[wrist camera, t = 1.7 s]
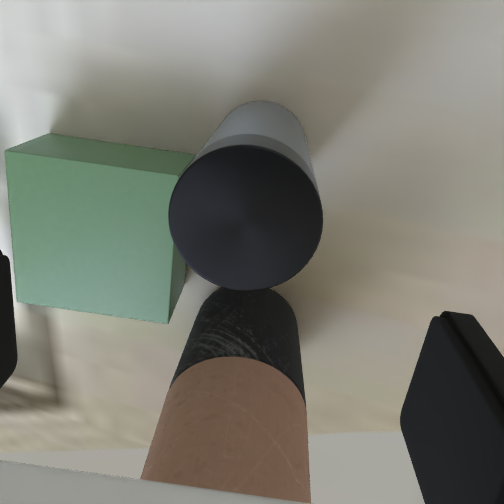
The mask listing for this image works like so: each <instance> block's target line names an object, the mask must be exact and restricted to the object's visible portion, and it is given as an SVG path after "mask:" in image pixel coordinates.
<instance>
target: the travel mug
mask: <svg viewBox="0 0 504 504" xmlns="http://www.w3.org/2000/svg"><path fill="white" fill-rule="evenodd" d="M140 479H141V480H149V481H156V482H163V483H170V484H177V485H184V486H191V487H198V488H205V489H213V490H220V491H227V492H234V493H241V494H248V495H255V496H262V497H269V498H276V499H282V500H289V501H296V502H303V503H310V504H311V496H310V474H309V453H308V432H307V412H306V401H305V392H304V382H303V373H302V363H301V354H300V344H299V335H298V327H297V322H296V318H295V315H294V312H293V311H292V309H291V307H290V306H289V304H288V303H287V302H286V301H285V299H284V298H283V297H281V296H280V295H279V294H278V293H276V292H274V291H273V290H271V289H269V288H267V289H262V290H256V291H239V290H233V289H228V288H221V289H219V290H218V291H216V292H214V293H213V294H212V295H211V296H209V298H208V299H207V300H206V301H205V302H204V303H203V305H202V307H201V308H200V310H199V312H198V315H197V317H196V320H195V322H194V325H193V327H192V330H191V332H190V335H189V338H188V340H187V343H186V346H185V348H184V351H183V353H182V356H181V359H180V361H179V364H178V367H177V369H176V372H175V374H174V377H173V380H172V382H171V385H170V388H169V391H168V393H167V396H166V399H165V402H164V405H163V409H162V412H161V415H160V418H159V421H158V424H157V428H156V431H155V434H154V437H153V440H152V443H151V446H150V450H149V453H148V456H147V459H146V462H145V465H144V469H143V472H142V475H141V478H140Z"/></svg>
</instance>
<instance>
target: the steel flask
mask: <svg viewBox="0 0 504 504" xmlns="http://www.w3.org/2000/svg"><path fill="white" fill-rule="evenodd" d="M168 222H169V229H170V234H171V237H172V240H173V242H174V245H175V247H176V249H177V251H178V252H179V254H180V255H181V257H182V258H183V260H184V261H185V262H186V263H187V264H188V266H189V267H190V268H191V269H193V270H194V271H195V272H196V273H197V274H199V275H200V276H201V277H203V278H204V279H206V280H208V281H210V282H211V283H214V284H216V285H218V286H221V287H224V288H228V289H233V290H239V291H256V290H262V289H267V288H271V287H274V286H277V285H279V284H281V283H283V282H285V281H287V280H289V279H290V278H292V277H293V276H295V275H296V274H297V273H298V272H300V271H301V270H302V269H303V268H304V267H305V266H306V264H307V263H308V262H309V260H310V259H311V258H312V256H313V255H314V253H315V251H316V249H317V247H318V244H319V241H320V238H321V234H322V228H323V210H322V205H321V200H320V196H319V192H318V188H317V183H316V179H315V175H314V171H313V166H312V162H311V158H310V154H309V150H308V145H307V141H306V137H305V133H304V130H303V128H302V126H301V124H300V122H299V121H298V119H297V118H296V117H295V116H294V115H293V114H292V113H291V112H290V111H289V110H288V109H286V108H285V107H283V106H281V105H279V104H276V103H273V102H269V101H253V102H249V103H246V104H243V105H241V106H239V107H237V108H236V109H234V110H233V111H232V112H231V113H230V114H229V115H228V116H227V117H226V118H225V119H224V121H223V122H222V123H221V125H220V126H219V127H218V128H217V130H216V131H215V132H214V134H213V135H212V136H211V137H210V139H209V140H208V141H207V143H206V144H205V145H204V146H203V148H202V149H201V150H200V152H199V153H198V154H197V156H196V157H195V158H194V159H193V161H192V162H191V163H190V165H189V166H188V167H187V168H186V170H185V171H184V172H183V174H182V175H181V176H180V178H179V179H178V181H177V183H176V185H175V187H174V189H173V192H172V194H171V198H170V202H169V210H168Z"/></svg>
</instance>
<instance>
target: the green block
mask: <svg viewBox="0 0 504 504" xmlns="http://www.w3.org/2000/svg"><path fill="white" fill-rule="evenodd" d="M194 158H195V155H194V154H187V153H180V152H173V151H167V150H160V149H153V148H146V147H139V146H132V145H125V144H118V143H111V142H105V141H98V140H91V139H84V138H77V137H70V136H63V135H56V134H46V135H43V136H41V137H38V138H35V139H33V140H30V141H28V142H25V143H22V144H20V145H17V146H15V147H12V148H9V149H7V150H5V162H6V175H7V187H8V199H9V211H10V224H11V236H12V248H13V260H14V273H15V285H16V297H17V302H21V303H27V304H34V305H41V306H48V307H55V308H62V309H69V310H75V311H82V312H89V313H96V314H103V315H110V316H117V317H123V318H130V319H137V320H144V321H151V322H158V323H165V324H168V323H169V321H170V319H171V316H172V314H173V311H174V309H175V306H176V304H177V301H178V299H179V297H180V294H181V292H182V289H183V287H184V284H185V272H186V262H185V261H184V260H183V258H182V257H181V255H180V254H179V252H178V251H177V249H176V247H175V245H174V242H173V240H172V237H171V234H170V229H169V222H168V210H169V202H170V198H171V194H172V192H173V189H174V187H175V185H176V183H177V181H178V179H179V178H180V176H181V175H182V174H183V172H184V171H185V170H186V168H187V167H188V166H189V165H190V163H191V162H192V161H193V159H194Z"/></svg>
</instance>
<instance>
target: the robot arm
mask: <svg viewBox="0 0 504 504" xmlns="http://www.w3.org/2000/svg"><path fill="white" fill-rule="evenodd" d="M16 364H17V345H16V332H15V320H14V308H13V295H12V283H11V271H10V261H9V258H8V257H7V256H6V255H3V254H2V252H1V250H0V388H1V387H2V386H3V384H4V383H5V382H6V381H7V380H8V378H9V377H10V376H11V375H12V373H13V372H14V370H15V367H16ZM400 425H401V430H402V433H403V436H404V439H405V442H406V445H407V448H408V452H409V455H410V458H411V461H412V464H413V467H414V470H415V473H416V477H417V480H418V483H419V486H420V489H421V492H422V496H423V499H424V502H425V504H504V357H503V356H502V354H501V353H500V352H499V350H498V349H497V347H496V346H495V345H494V343H493V342H492V340H491V339H490V338H489V336H488V335H487V334H486V332H485V331H484V329H483V328H482V327H481V325H480V324H479V323H478V321H477V320H476V318H475V317H474V316H473V315H470V314H463V313H456V312H449V311H444V312H442V314H441V315H440V317H438V316H435V317H433V318H432V320H431V322H430V325H429V328H428V331H427V334H426V337H425V340H424V343H423V346H422V349H421V352H420V356H419V359H418V362H417V365H416V368H415V371H414V374H413V377H412V380H411V383H410V386H409V389H408V392H407V395H406V398H405V401H404V404H403V407H402V410H401V416H400ZM0 504H310V503H303V502H296V501H289V500H282V499H276V498H269V497H262V496H255V495H248V494H241V493H234V492H227V491H220V490H213V489H205V488H198V487H191V486H184V485H177V484H170V483H163V482H156V481H149V480H141V479H133V478H127V477H120V476H113V475H106V474H98V473H91V472H84V471H77V470H69V469H62V468H55V467H47V466H40V465H33V464H25V463H18V462H10V461H3V460H0Z"/></svg>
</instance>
